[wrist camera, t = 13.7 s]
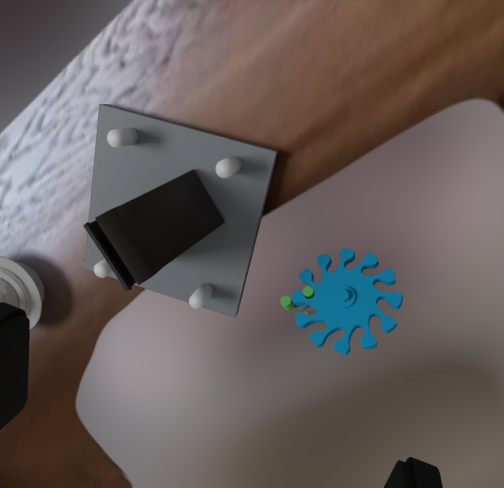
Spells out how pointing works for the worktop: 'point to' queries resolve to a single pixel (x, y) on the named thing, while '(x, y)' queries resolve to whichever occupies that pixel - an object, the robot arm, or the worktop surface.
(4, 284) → the grey spinning top
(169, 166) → the base plate
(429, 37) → the worktop surface
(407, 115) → the worktop surface
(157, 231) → the phone stand
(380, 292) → the gear
